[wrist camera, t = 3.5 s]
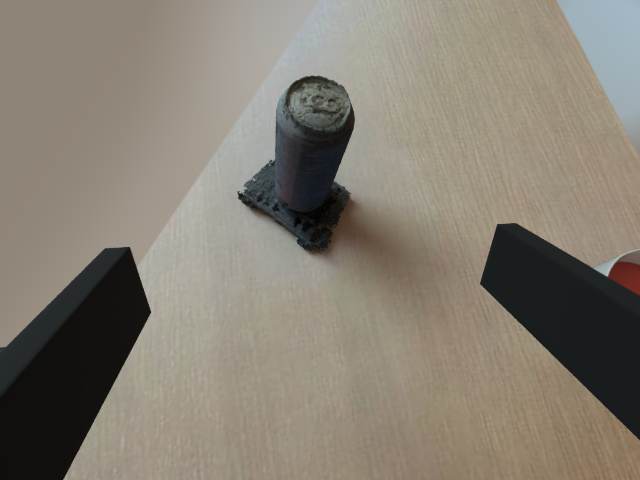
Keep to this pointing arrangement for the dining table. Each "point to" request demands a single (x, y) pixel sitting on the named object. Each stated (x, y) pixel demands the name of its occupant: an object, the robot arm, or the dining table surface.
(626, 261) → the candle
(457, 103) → the dining table surface
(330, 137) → the beverage can
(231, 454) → the dining table surface
